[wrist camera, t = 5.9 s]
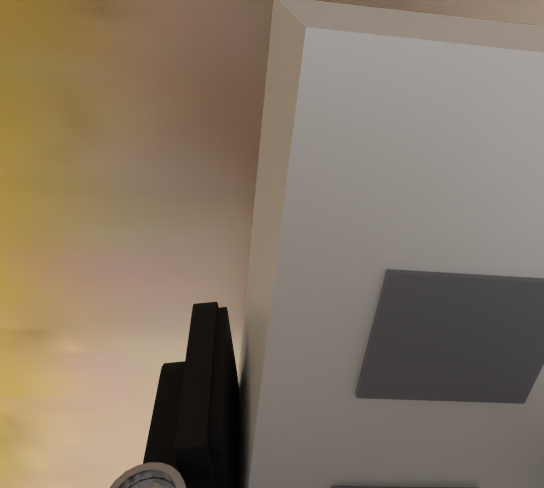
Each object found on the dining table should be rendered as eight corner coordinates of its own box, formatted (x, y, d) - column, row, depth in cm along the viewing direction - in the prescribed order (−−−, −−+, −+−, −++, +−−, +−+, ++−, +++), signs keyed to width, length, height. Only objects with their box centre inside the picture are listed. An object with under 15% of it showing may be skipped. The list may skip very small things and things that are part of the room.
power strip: (273, -4, 9) (306, 28, 4) (538, 25, 9) (808, 81, 5) (227, 491, 16) (222, 700, 11) (382, 493, 16) (435, 694, 12)
